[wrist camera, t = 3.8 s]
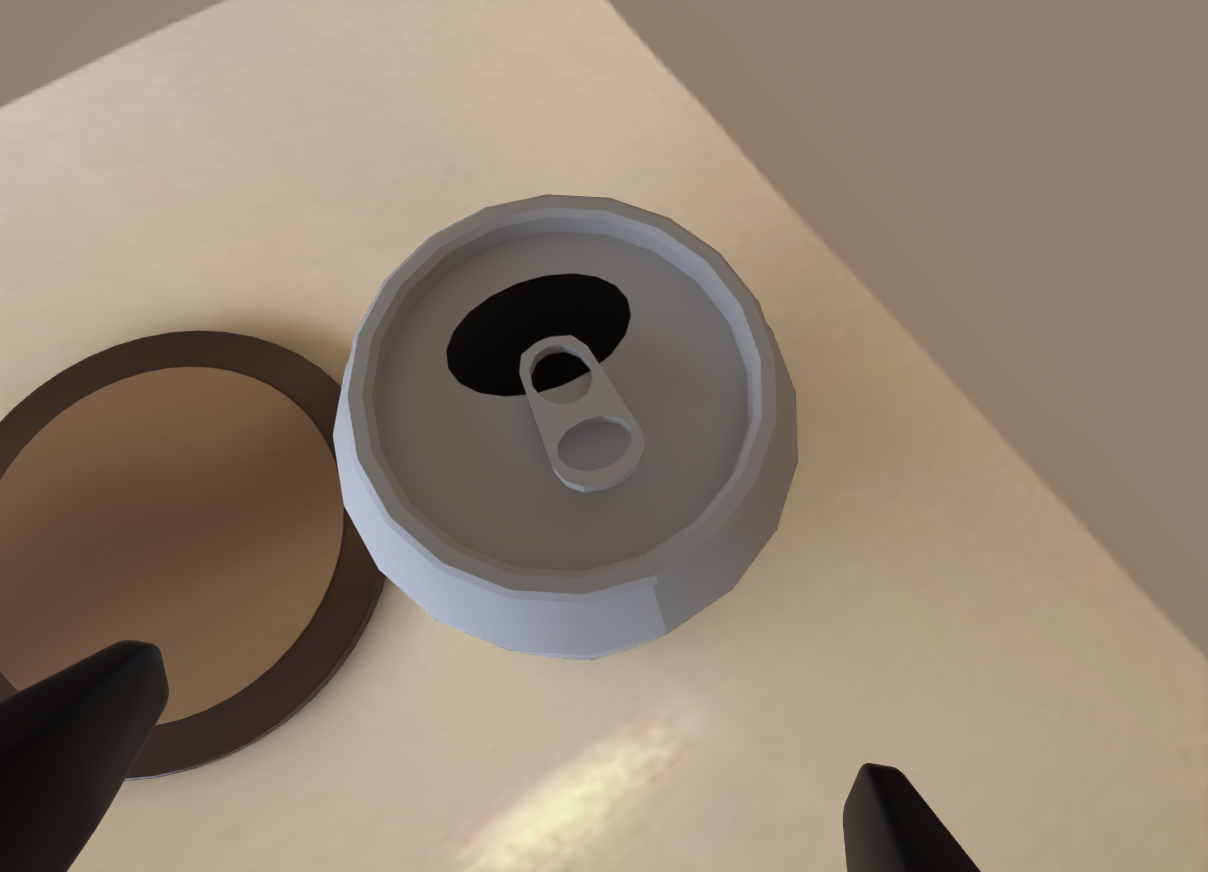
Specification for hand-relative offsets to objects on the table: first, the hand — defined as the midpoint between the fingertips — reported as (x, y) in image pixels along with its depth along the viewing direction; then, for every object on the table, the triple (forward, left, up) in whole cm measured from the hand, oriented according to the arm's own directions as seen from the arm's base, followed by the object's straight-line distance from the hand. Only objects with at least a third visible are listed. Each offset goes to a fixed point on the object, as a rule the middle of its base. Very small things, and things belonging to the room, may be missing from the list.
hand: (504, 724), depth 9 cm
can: (+3, -4, -12) cm, 12 cm away
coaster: (+11, +5, -11) cm, 17 cm away
